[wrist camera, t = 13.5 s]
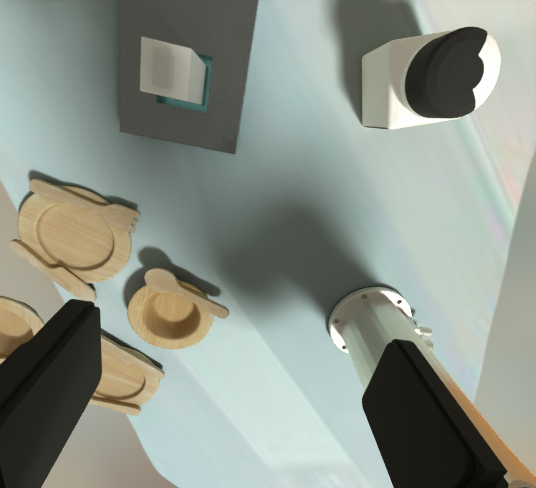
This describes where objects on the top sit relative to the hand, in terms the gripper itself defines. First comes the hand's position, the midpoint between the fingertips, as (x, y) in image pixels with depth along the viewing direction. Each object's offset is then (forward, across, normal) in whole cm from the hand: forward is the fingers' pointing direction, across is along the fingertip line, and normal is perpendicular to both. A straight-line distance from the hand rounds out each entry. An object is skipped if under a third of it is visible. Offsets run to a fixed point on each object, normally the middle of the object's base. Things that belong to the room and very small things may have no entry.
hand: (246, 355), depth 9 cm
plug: (+28, +8, -9) cm, 30 cm away
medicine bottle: (+28, -14, -13) cm, 34 cm away
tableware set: (+29, +18, +23) cm, 41 cm away
